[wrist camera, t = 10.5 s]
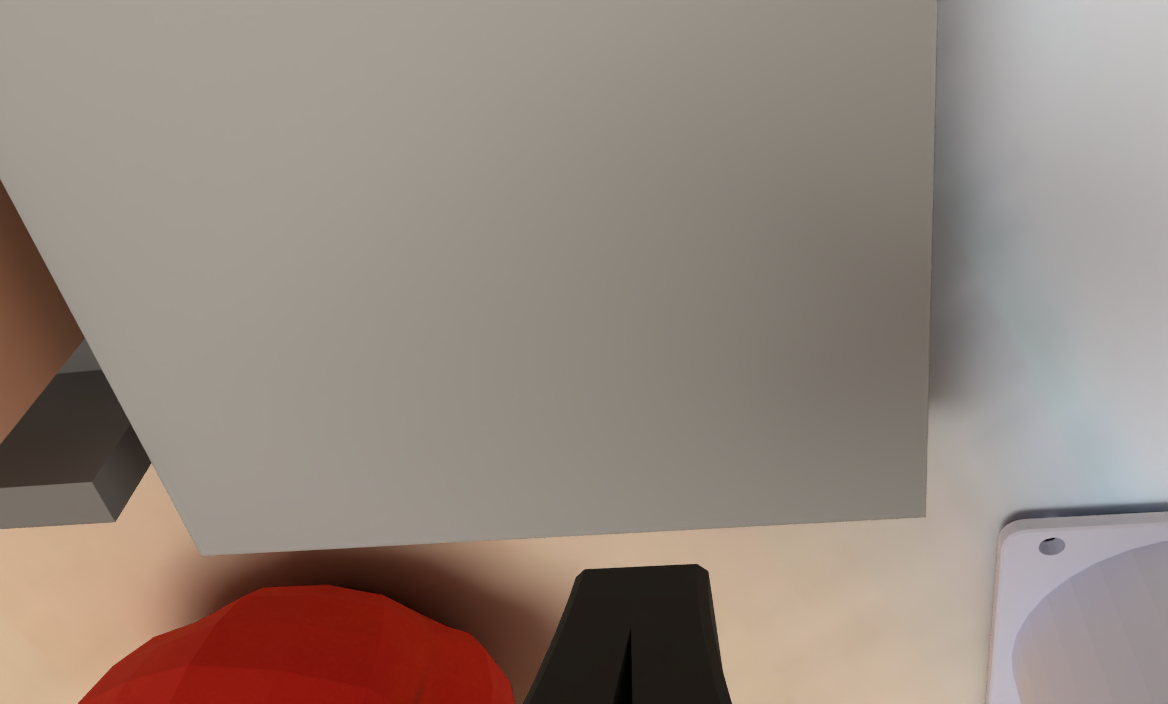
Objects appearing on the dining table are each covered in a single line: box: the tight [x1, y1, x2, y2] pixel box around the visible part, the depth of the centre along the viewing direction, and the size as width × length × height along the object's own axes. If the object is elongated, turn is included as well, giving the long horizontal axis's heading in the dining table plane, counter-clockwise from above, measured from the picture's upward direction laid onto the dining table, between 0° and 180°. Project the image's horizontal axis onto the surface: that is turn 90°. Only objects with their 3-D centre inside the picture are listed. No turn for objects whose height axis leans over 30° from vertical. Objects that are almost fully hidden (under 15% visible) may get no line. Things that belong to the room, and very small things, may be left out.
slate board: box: [0, 0, 938, 556], centre depth 17 cm, size 14×14×3 cm
